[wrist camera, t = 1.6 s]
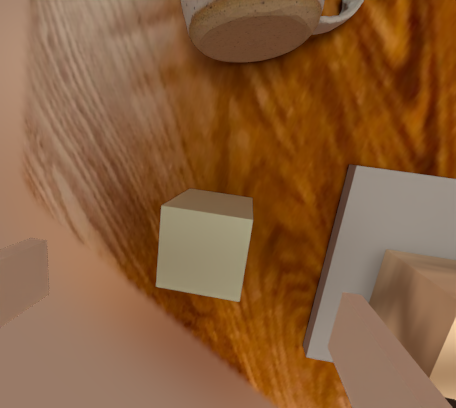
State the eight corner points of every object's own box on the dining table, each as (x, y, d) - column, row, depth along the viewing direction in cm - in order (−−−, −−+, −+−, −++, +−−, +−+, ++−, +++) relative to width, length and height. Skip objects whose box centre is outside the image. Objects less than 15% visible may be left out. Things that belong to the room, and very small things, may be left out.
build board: (349, 164, 16) (356, 165, 15) (558, 193, 15) (583, 196, 14) (302, 345, 20) (306, 357, 19) (469, 377, 19) (483, 391, 18)
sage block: (190, 188, 18) (161, 205, 12) (252, 197, 18) (253, 219, 12) (184, 245, 19) (155, 286, 13) (243, 255, 19) (239, 302, 13)
